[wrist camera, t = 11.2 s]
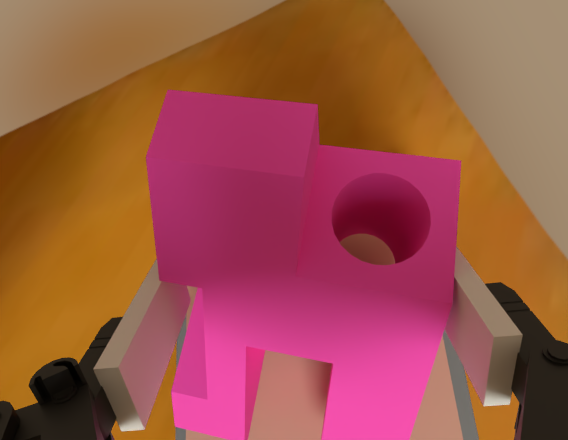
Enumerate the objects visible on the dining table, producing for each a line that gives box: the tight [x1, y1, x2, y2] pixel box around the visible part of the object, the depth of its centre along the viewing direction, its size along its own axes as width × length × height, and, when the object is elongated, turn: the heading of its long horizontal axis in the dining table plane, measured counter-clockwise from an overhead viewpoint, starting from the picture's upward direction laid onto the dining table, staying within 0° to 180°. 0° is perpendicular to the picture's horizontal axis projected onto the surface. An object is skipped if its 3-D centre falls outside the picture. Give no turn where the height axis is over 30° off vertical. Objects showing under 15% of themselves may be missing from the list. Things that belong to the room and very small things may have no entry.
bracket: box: [146, 90, 461, 440], centre depth 16 cm, size 12×10×10 cm
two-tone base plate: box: [176, 234, 479, 440], centre depth 26 cm, size 18×20×9 cm
